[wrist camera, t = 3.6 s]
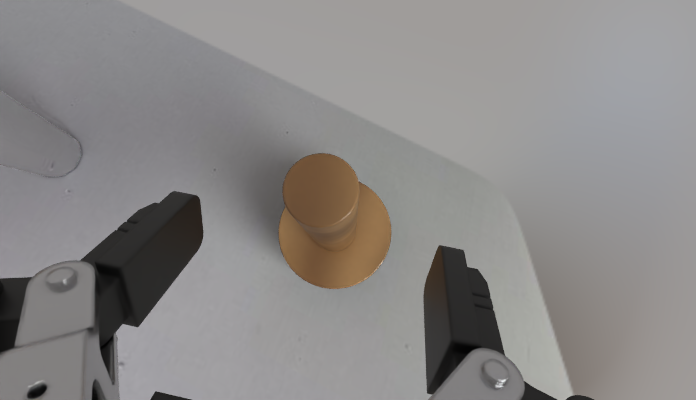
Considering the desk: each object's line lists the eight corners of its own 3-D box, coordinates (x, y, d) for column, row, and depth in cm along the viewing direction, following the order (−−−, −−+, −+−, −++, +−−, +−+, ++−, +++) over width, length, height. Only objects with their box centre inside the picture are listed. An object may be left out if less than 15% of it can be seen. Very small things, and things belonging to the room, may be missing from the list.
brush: (393, 200, 24) (439, 114, 12) (375, 297, 23) (405, 317, 10) (301, 182, 25) (247, 78, 12) (278, 276, 23) (190, 271, 11)
